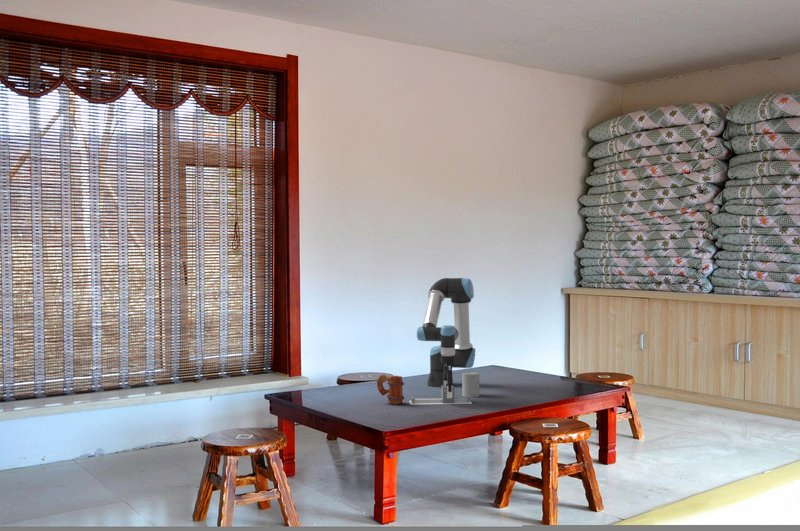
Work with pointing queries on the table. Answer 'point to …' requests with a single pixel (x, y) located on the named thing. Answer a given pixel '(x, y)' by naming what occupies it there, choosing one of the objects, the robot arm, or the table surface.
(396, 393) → the mug
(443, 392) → the block
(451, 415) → the table surface
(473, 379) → the light grey cylinder
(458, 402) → the rail panel
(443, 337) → the robot arm
